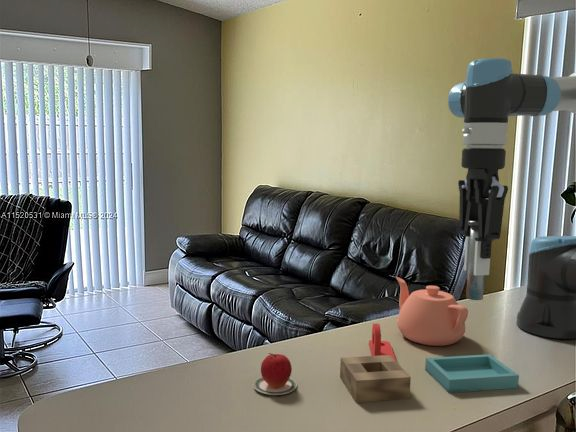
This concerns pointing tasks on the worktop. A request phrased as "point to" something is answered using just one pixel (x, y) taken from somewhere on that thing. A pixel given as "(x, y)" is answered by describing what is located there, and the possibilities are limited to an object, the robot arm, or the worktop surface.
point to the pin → (473, 282)
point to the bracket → (379, 343)
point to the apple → (275, 376)
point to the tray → (471, 373)
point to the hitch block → (374, 378)
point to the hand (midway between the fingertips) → (476, 272)
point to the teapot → (430, 316)
